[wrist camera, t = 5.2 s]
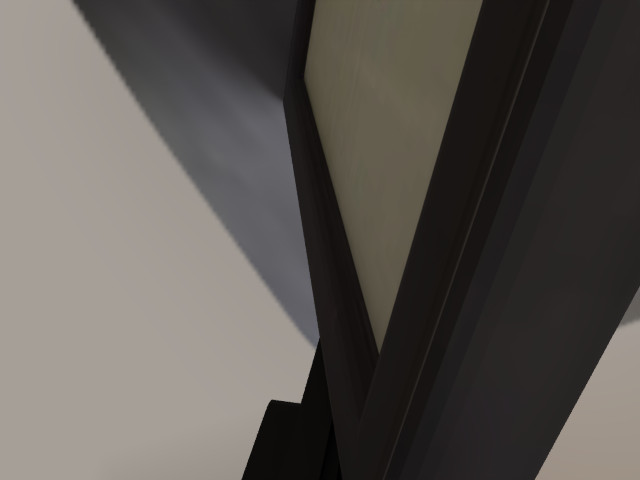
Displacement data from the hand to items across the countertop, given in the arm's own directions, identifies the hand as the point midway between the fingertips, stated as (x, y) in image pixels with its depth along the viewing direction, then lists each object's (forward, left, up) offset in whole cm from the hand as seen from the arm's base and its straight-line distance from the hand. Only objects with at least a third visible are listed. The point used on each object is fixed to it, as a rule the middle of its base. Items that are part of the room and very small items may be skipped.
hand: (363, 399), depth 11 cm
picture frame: (-3, -13, -10) cm, 17 cm away
